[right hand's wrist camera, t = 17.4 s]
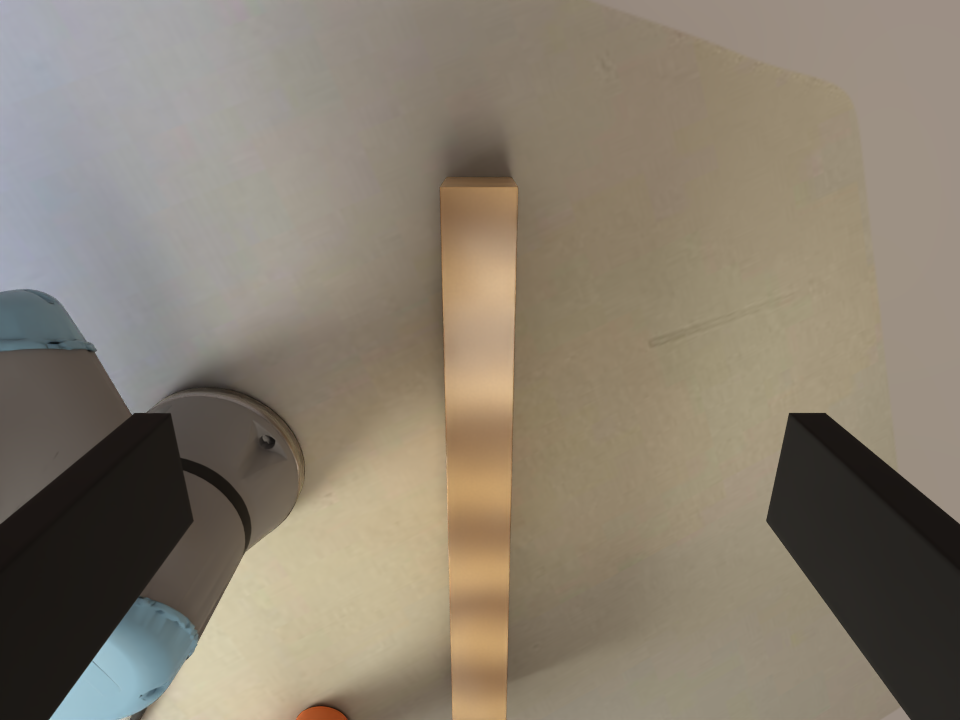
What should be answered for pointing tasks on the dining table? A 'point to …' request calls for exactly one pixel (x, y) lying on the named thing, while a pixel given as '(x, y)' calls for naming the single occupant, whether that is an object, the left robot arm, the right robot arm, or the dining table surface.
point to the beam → (479, 431)
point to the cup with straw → (321, 714)
